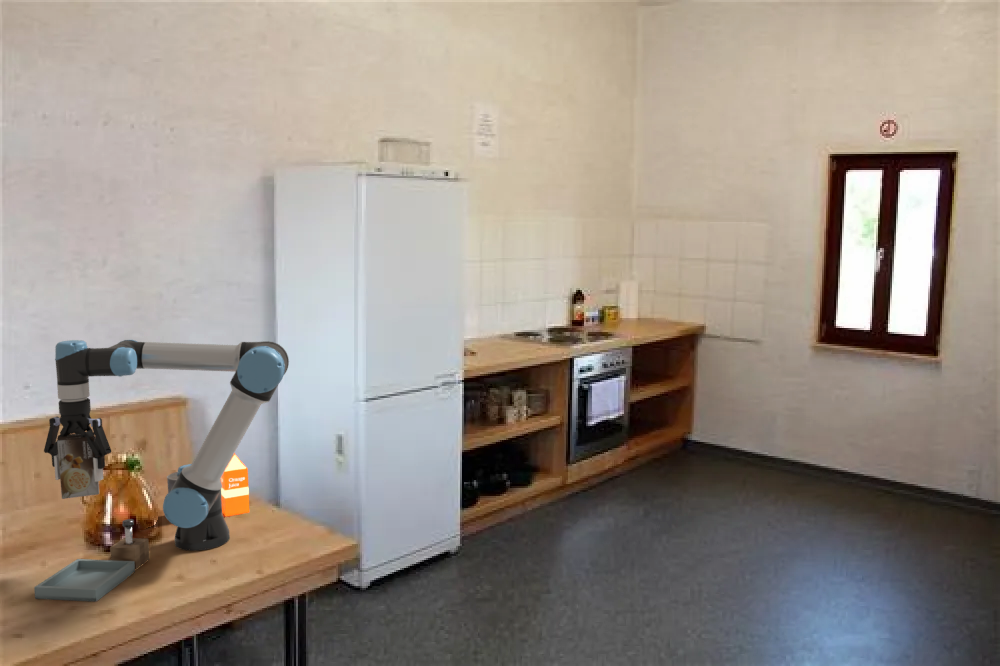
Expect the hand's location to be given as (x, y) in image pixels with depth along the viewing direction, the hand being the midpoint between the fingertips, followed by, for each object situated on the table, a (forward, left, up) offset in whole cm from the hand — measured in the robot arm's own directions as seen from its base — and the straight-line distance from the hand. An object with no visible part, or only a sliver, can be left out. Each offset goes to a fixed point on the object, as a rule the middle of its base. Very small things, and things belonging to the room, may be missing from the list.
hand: (79, 479), depth 229 cm
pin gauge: (-12, -2, -24) cm, 27 cm away
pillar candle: (-9, -40, -24) cm, 47 cm away
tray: (-8, +12, -24) cm, 28 cm away
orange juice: (-22, -47, -24) cm, 57 cm away
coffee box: (0, 0, -4) cm, 4 cm away
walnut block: (-12, -2, -24) cm, 27 cm away
